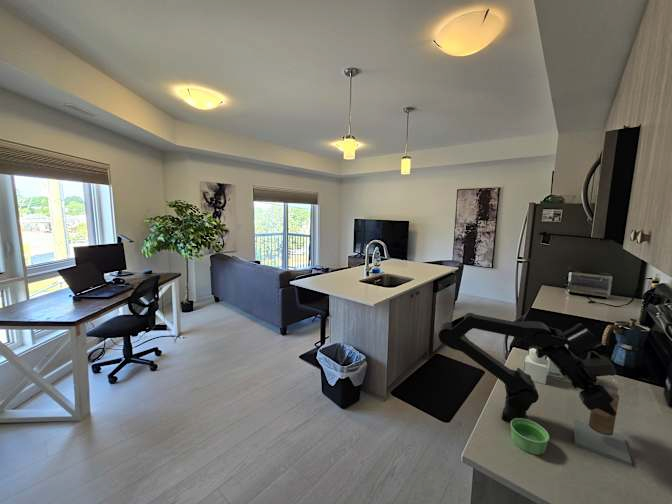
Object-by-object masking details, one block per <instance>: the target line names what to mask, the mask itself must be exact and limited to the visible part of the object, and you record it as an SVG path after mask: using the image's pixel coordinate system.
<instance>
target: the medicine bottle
mask: <svg viewBox="0 0 672 504" xmlns="http://www.w3.org/2000/svg"><path fill="white" fill-rule="evenodd" d="M525 356H526V357H525V359H524V367H523V368H524V369H523V372H524V373H526V374H528V375H530V376H531V379H532V380H533V382H536V383H540V384H542V385H546V383H547V376H548V375H547V369H548V360H547V356H546V355H545V356H543V357H541V358H538V357H537V354H536V346H535V345H532V346H529V347H528V350H527V354H526V355H525Z"/></svg>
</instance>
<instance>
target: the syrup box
mask: <svg viewBox="0 0 672 504" xmlns="http://www.w3.org/2000/svg"><path fill="white" fill-rule="evenodd" d="M565 346H566V347H567V348H568V349H569V346H568V345H567V344H566V345H565ZM547 360H548V369H547V376H550V377H556V378H560V379H564V380H565V378H566V376H563V375H562V374H561V372H560V371H559V369H558V368H557V367H556V366H555V365H554V364H553V363H552V362H551V360H550V359H549V358H548V357H547Z"/></svg>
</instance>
